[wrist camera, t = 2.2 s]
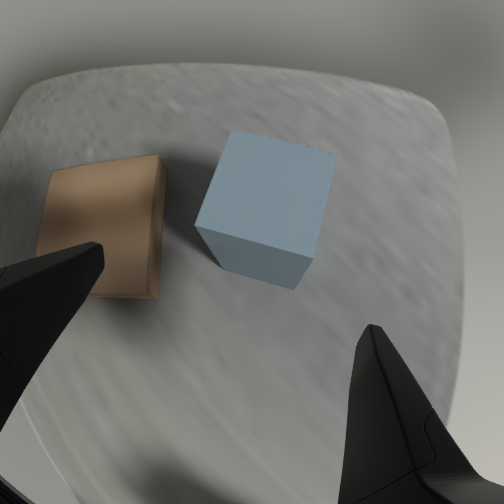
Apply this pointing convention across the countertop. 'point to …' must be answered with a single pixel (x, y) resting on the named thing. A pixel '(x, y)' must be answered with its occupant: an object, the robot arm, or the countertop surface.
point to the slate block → (266, 207)
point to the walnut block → (110, 221)
